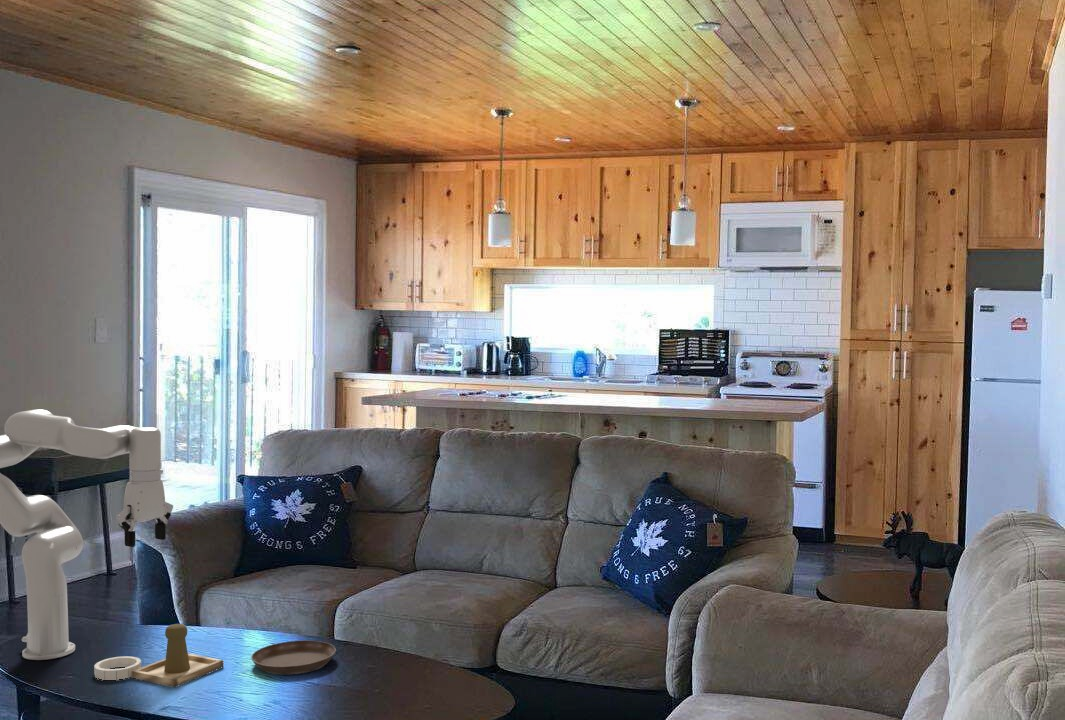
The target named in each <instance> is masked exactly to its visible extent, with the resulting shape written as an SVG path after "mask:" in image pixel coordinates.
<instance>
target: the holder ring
mask: <svg viewBox="0 0 1065 720" xmlns="http://www.w3.org/2000/svg"><path fill="white" fill-rule="evenodd" d="M115 667H125V668H115ZM142 667H143V666H142V660H141V658H140V657H136V656H131V655H130V656H127V655H126V656H125V655H123V656H115V657H109V658H105V659H102V660H100V661H98V662H96V663H95V664H94V665H93V672H94V674H93V675H95V676H94V678H95V679H96V678H97V679H96V680H99V679H102V680H101V681H103V680H116V681H120V680H119V679H123V680H126V679H125V678H128V679H130V678H129V677H131V678H132V671H134V670H136V669H139V668H142ZM110 668H115V669H110ZM98 678H99V679H98Z"/></svg>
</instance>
